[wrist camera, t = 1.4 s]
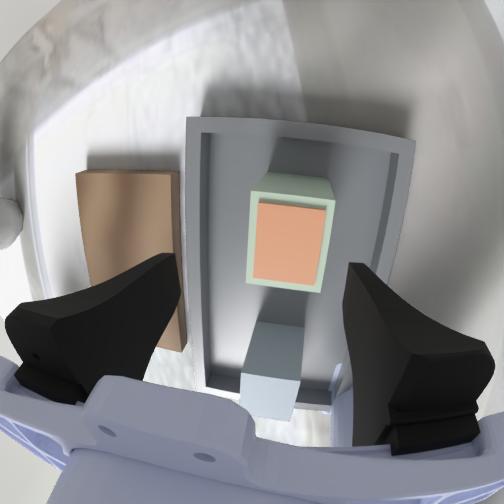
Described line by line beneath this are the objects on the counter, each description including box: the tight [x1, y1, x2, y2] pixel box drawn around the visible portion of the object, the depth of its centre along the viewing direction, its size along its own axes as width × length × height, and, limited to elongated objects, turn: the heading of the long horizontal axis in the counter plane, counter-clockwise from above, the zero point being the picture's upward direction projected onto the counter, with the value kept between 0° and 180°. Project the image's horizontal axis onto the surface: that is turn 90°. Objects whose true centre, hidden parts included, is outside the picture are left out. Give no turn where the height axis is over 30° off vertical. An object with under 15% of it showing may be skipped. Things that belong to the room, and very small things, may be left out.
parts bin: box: [185, 117, 416, 412], centre depth 22 cm, size 14×24×2 cm, turn 177°
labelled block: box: [246, 172, 336, 293], centre depth 18 cm, size 4×5×6 cm
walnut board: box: [76, 170, 187, 353], centre depth 25 cm, size 9×16×2 cm, turn 177°
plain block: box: [239, 321, 305, 422], centre depth 23 cm, size 4×5×6 cm
